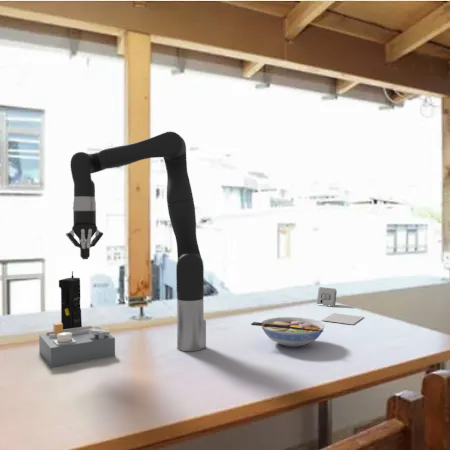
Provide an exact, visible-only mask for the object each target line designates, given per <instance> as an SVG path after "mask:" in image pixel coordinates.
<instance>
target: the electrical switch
mask: <svg viewBox="0 0 450 450" xmlns="http://www.w3.org/2000/svg"><path fill="white" fill-rule="evenodd" d="M336 298H337V289H336V288H333V287H331V288H330V287H322V286H319V287H318V292H317V299H316V305H317V304H323V305H330V306H334V305H335V306H336V300H337V299H336ZM330 306H329V307H330ZM335 306H334V307H335Z"/></svg>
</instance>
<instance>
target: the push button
mask: <svg viewBox="0 0 450 450" xmlns="http://www.w3.org/2000/svg"><path fill="white" fill-rule="evenodd" d="M71 340H72V333H70V332H64V333H59V334H57V342H69V341H71Z"/></svg>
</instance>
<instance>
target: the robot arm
mask: <svg viewBox="0 0 450 450" xmlns="http://www.w3.org/2000/svg"><path fill="white" fill-rule="evenodd" d="M155 158H162V159H163V160H164V166H165V169H166V177H167V184H166V202H167V203H166V204H167V211H168V215H169V220H170V224H171V227H172V231H173V234H174V236H175V240H176V250H177V251H176V252H177V261H176V271H175V272H176V273H175V275H176V276H175V277H176V279H175V281H176V328H177V329H176V337H177V338H176V339H177V340H176V343H177V344H176V346H177V347H176V348H177V350H179V351H184V352H195V351H200V350H202V349H204V348H207V321H206V319H204V317H205V316H204V291H205V289H204V287H205V286H204V284H205V283H204V281H205V280H204V279H205V277H204V274H205V273H204V269H205V268H204V261H203V258H202V255H201V252H200V248H199V243H198V239H197V218H196V208H195V201H194V195H193V190H192V187H191V182H190V176H189V173H188V166H187V165H188V162H187V161H188V160H187V145H186V142H185V139H184V138H183V137H182V136H181V135H180V134H178V133H177V132H175V131H165V132H162V133H161V134H158V135H154V136H153V137H149V138H147V139H144V140H140V141H136V142H133V143H127V144H121V145H116V146H112V147H105V148H103V149H101V150H99V151H98V152H95V153H87V152H84V151H77V152H75V153H74V154H73V155H72V156H71V159H70V172H71V177H72V178H71V179H72V181H73V203H72V204H73V206H72V210H73V211H72V212H73V214H72V215H73V225H72V227H71V230H70V231H69V232H66V233H65V236H66V237H67V239H69V240H70V242H71V243H72V244H73V245H74V247H77V248H79V250H80V251H79V252H80V253H79V254H80V255H79V256H80V258H81V259H82V260H88V259H89V258H90V254H91V253H90V252H91V251H90V249H91V248H92V247H96V245H97V244H98V243H99V241H100V239H101V238H102V237H103V235H104V233H103V232H102V231H100V230H99V229H98V226H97V205H96V186H95V182H94V180H92V174H95V173H98V172H101V171H104V170H107V169H114V168H121V167H123V166H127V165H131V164H133V163H136V162H138V161H139V162H140V161H142V160H147V159H155ZM94 235H95V236H94ZM75 236H76V237H77V238H78V240H77V239H76V238H75ZM93 237H94V238H93ZM92 238H93V239H92Z"/></svg>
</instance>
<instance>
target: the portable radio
mask: <svg viewBox="0 0 450 450" xmlns="http://www.w3.org/2000/svg"><path fill="white" fill-rule="evenodd" d="M58 288H60V313H61V314H60V315H61V317H60V318H61V320H60V322H61V323H62V324H63V330H64V329H71V328H78V327H83V326H82V324H83V323H82V309H81V278H80V277H74V271H71V277H67V278H62V279H59V280H58Z"/></svg>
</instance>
